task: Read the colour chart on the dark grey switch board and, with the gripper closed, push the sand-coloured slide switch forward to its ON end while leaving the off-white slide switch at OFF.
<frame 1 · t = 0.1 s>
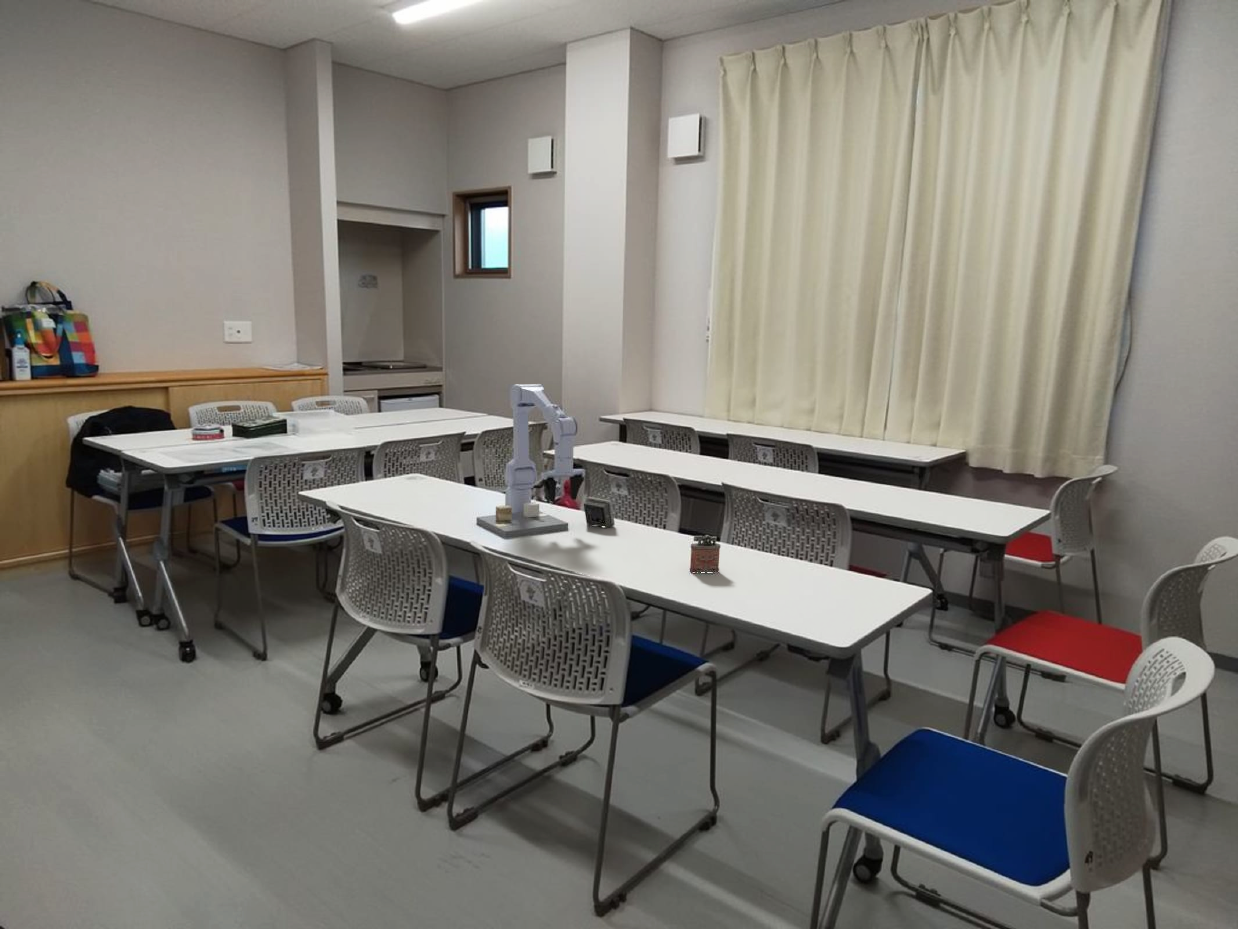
hand: (562, 500, 256), 10 cm above the table, tool pointing down, fingers open, 7 cm apart
switch board: (522, 526, 263), on the table
electrical switch: (598, 526, 266), on the table
lighter: (704, 572, 222), on the table
switch white: (531, 509, 267), point 4 cm above the table, slide at 0.0 cm
switch sand: (503, 513, 261), point 4 cm above the table, slide at 0.0 cm
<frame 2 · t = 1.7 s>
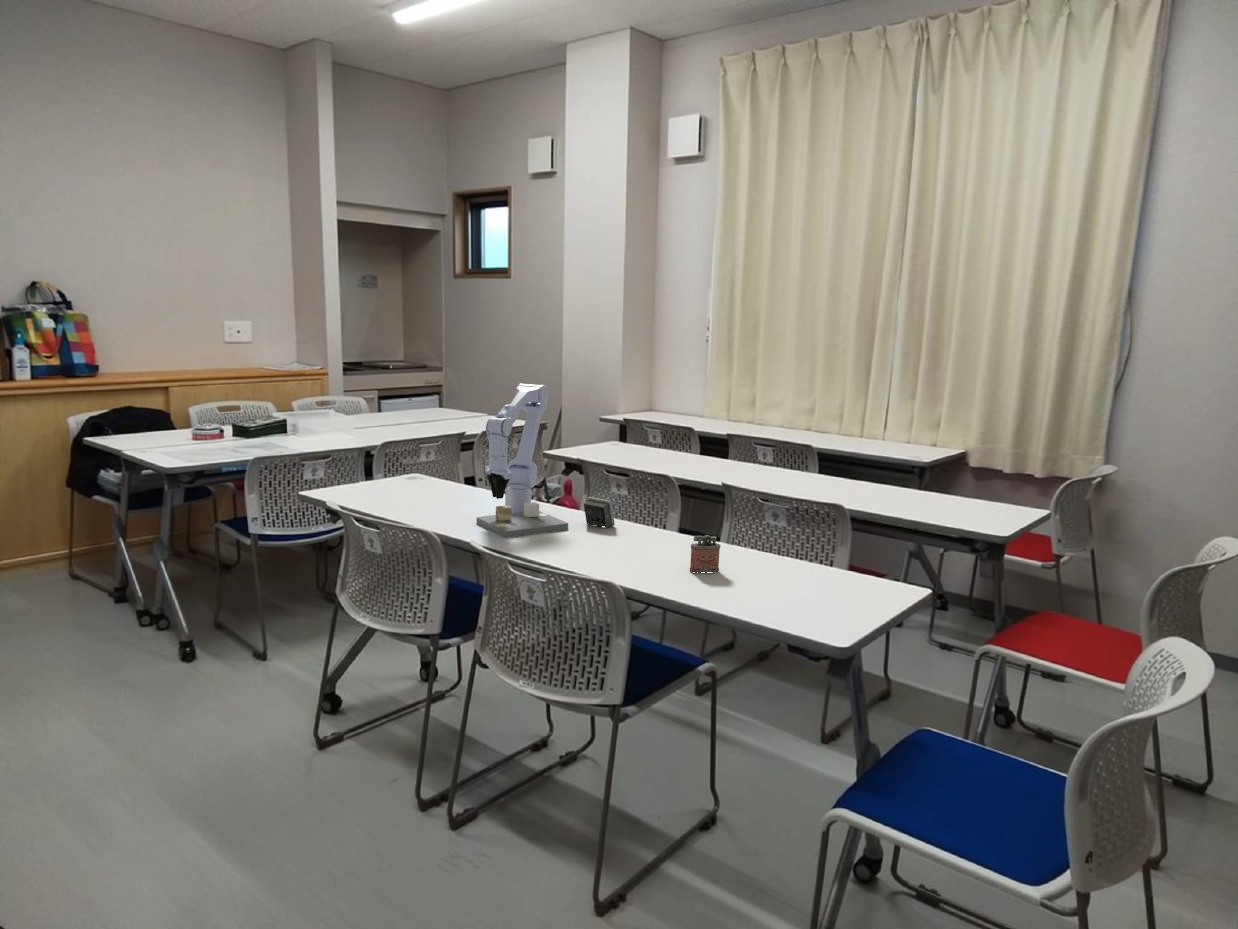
hand: (498, 497, 264), 8 cm above the table, tool pointing down, fingers closed
nothing on the table moved.
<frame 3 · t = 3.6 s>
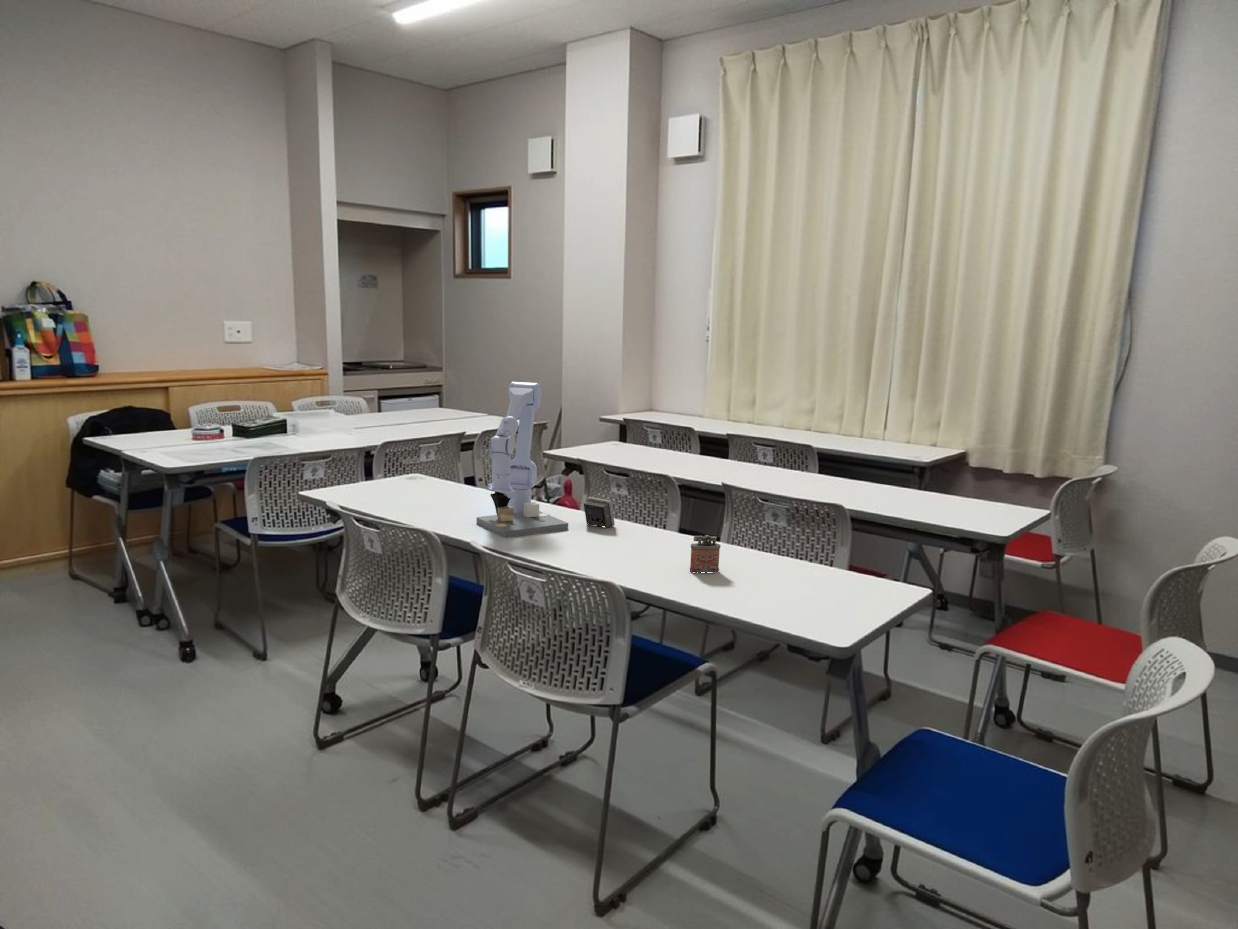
hand: (500, 515, 263), 3 cm above the table, tool pointing down, fingers closed
switch sand: (505, 513, 260), point 4 cm above the table, slide at 1.3 cm, touching gripper
everything else where it was.
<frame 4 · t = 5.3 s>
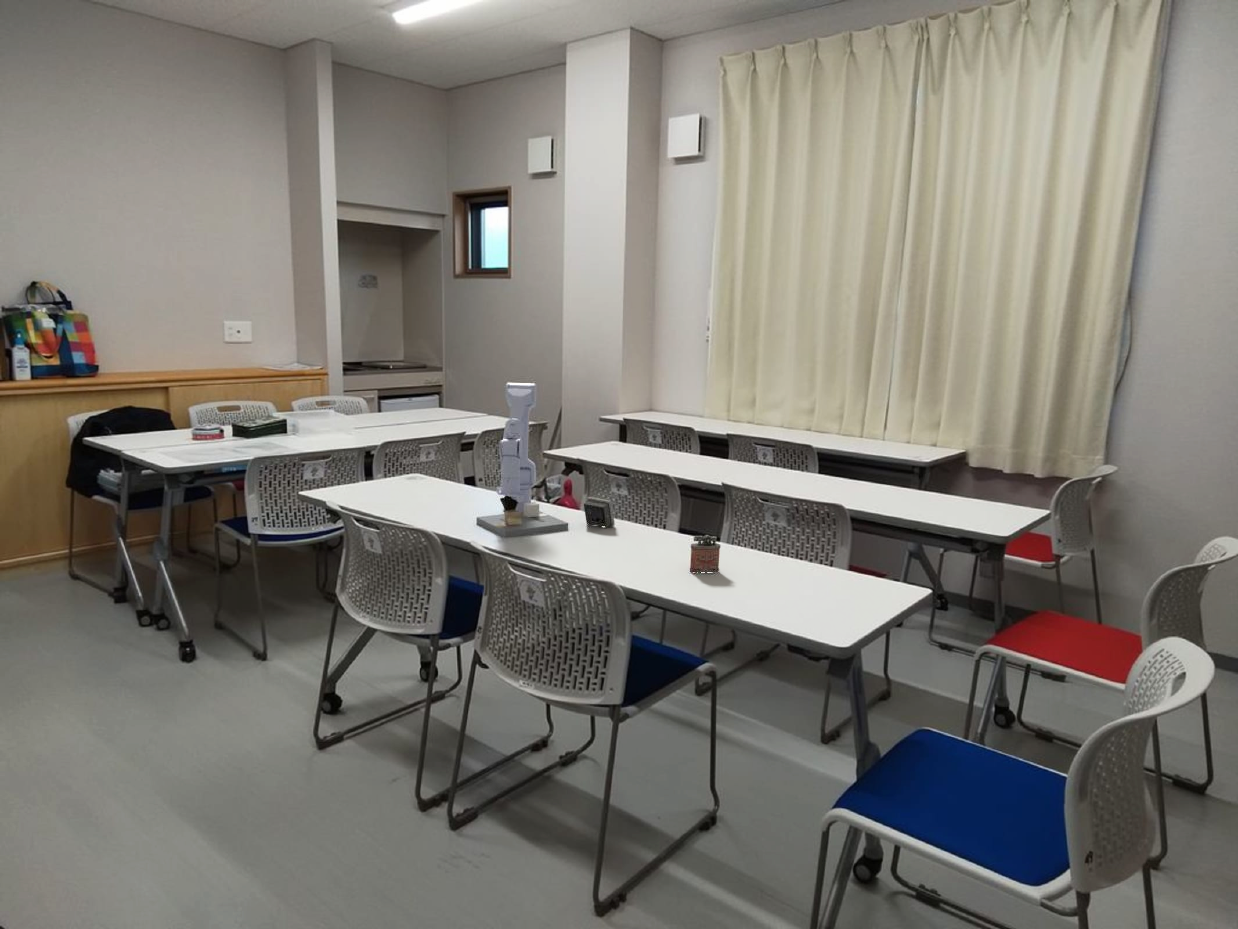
hand: (509, 520, 258), 3 cm above the table, tool pointing down, fingers closed, pressing on switch sand
switch sand: (513, 517, 256), point 4 cm above the table, slide at 6.5 cm, touching gripper
everything else where it was.
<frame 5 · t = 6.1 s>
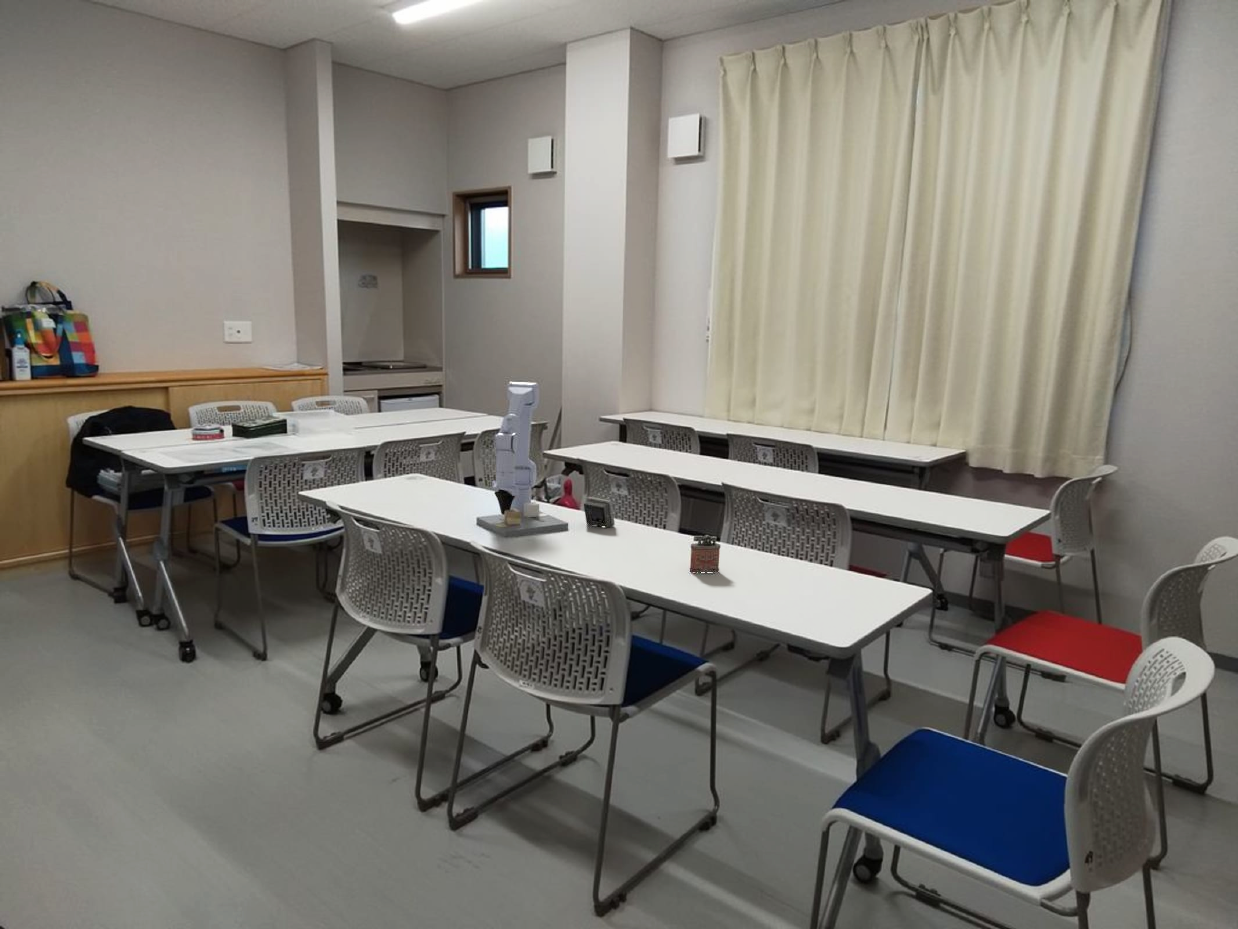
hand: (505, 513, 261), 4 cm above the table, tool pointing down, fingers closed
switch sand: (512, 517, 256), point 4 cm above the table, slide at 6.0 cm
everything else where it was.
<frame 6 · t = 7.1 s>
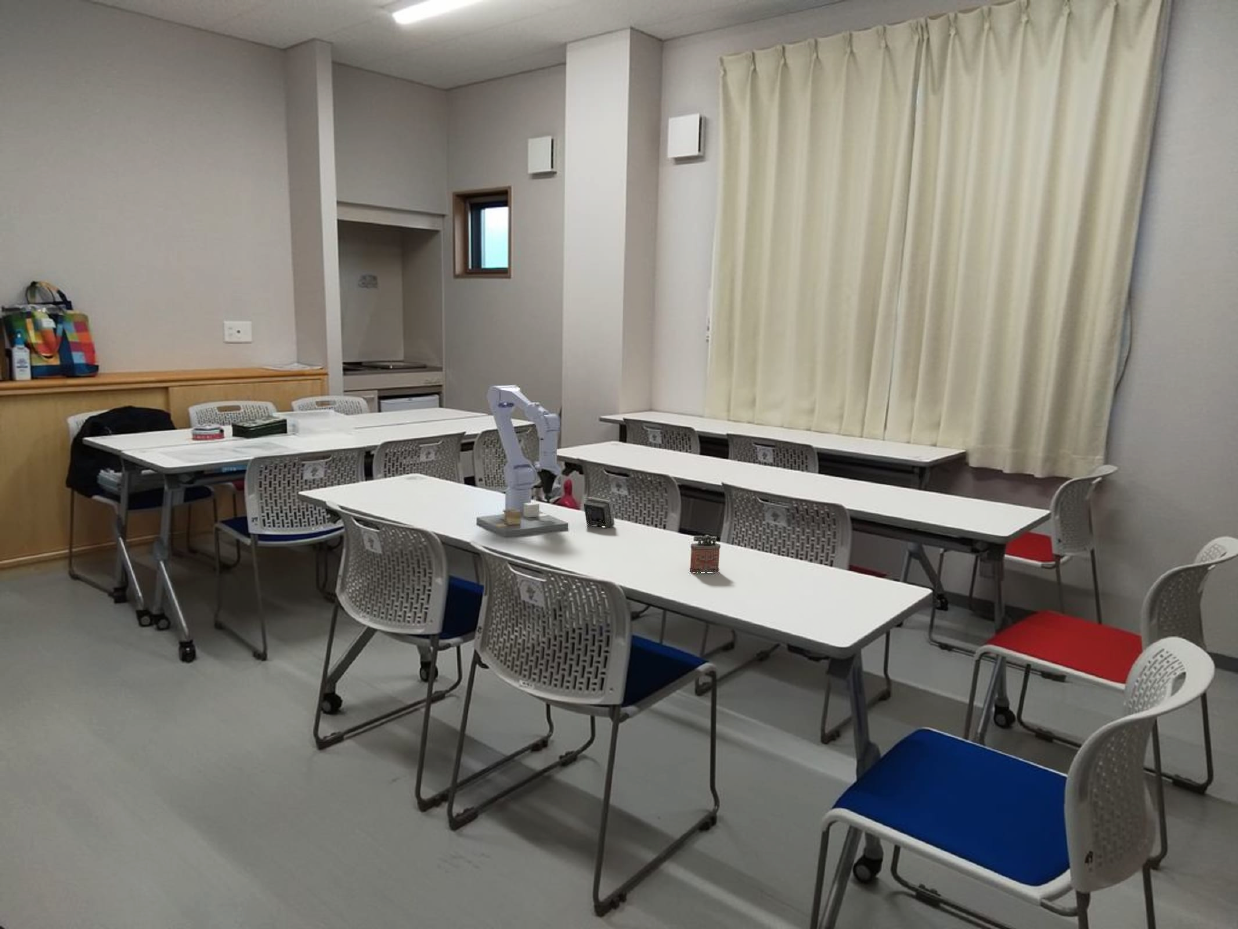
hand: (547, 493, 268), 9 cm above the table, tool pointing down, fingers closed
nothing on the table moved.
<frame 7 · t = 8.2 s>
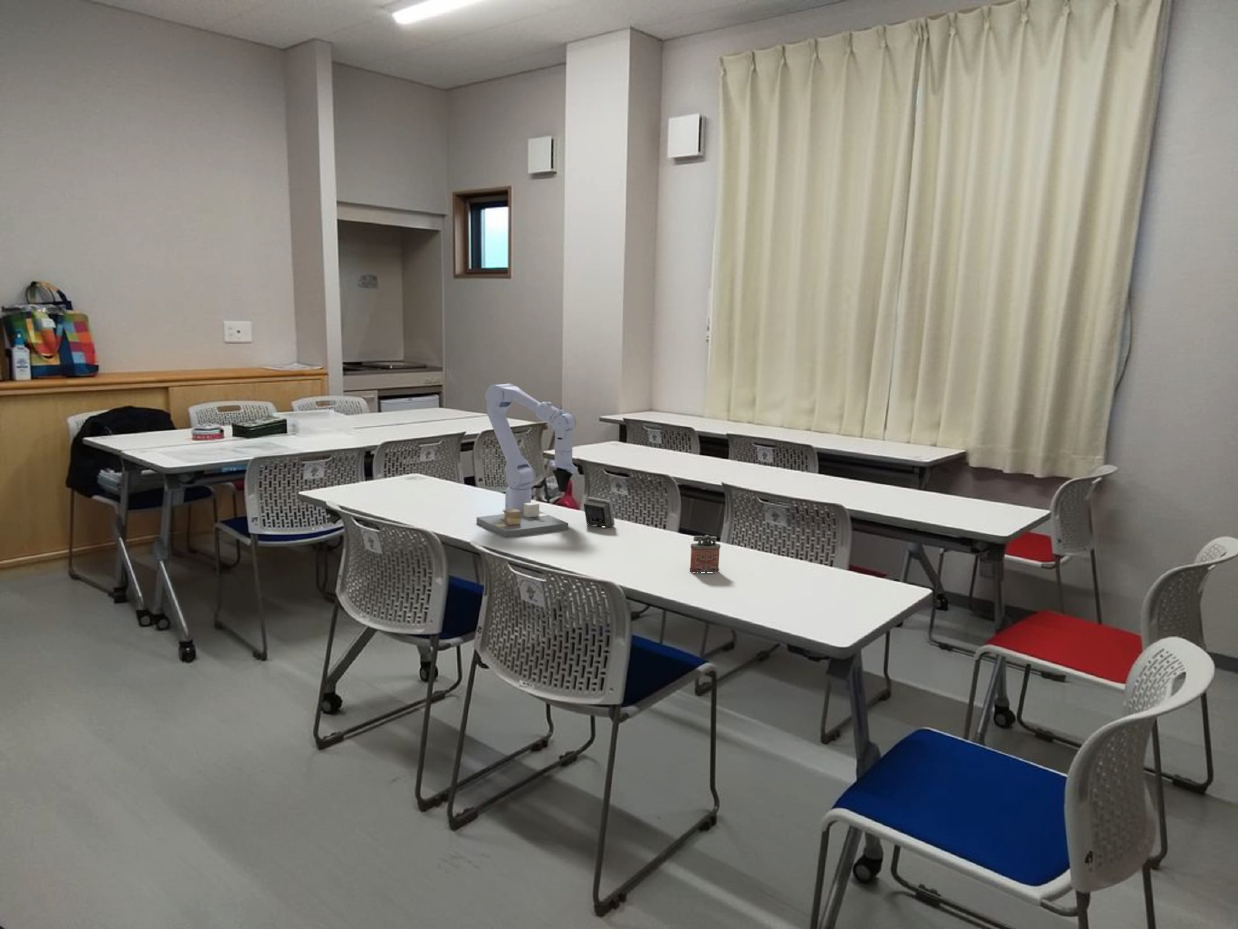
hand: (562, 491, 272), 9 cm above the table, tool pointing down, fingers closed
nothing on the table moved.
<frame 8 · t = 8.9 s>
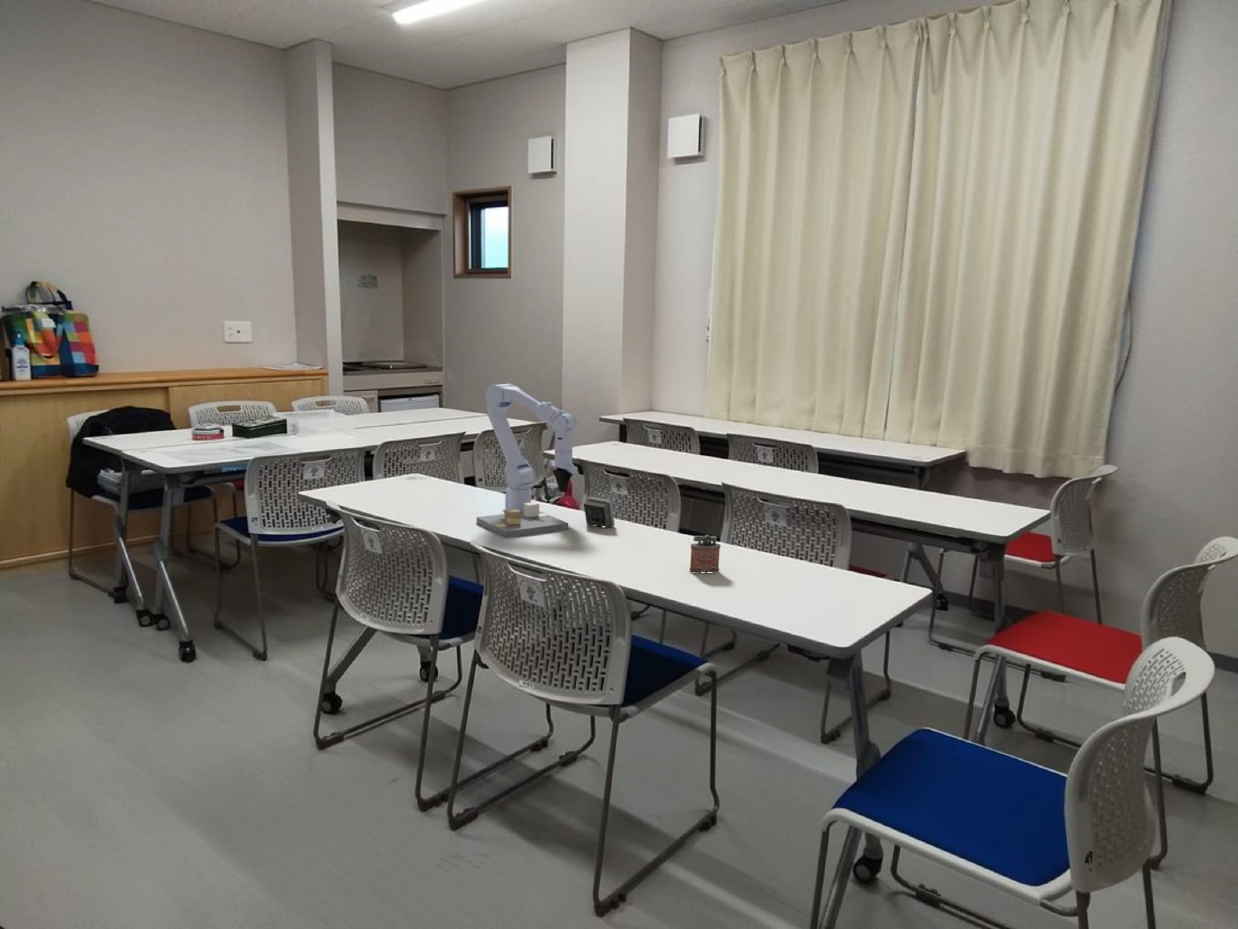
hand: (562, 491, 272), 9 cm above the table, tool pointing down, fingers closed
nothing on the table moved.
at the end: switch sand slide at 6.0 cm; switch white slide at 0.0 cm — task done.
